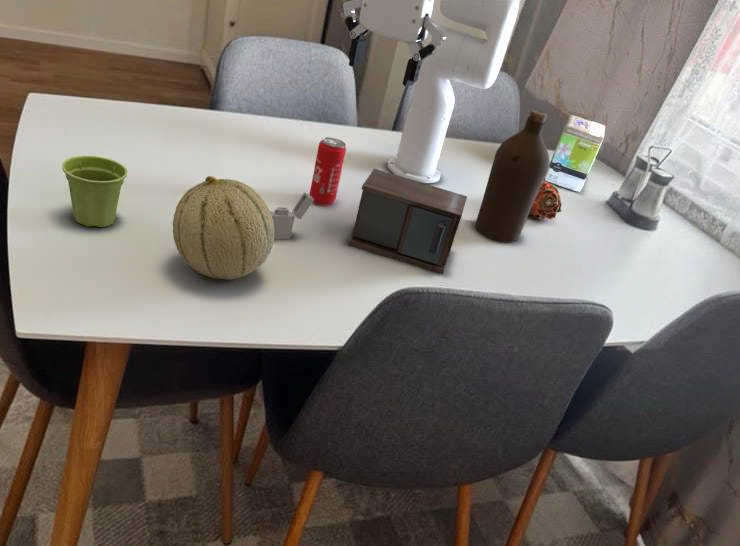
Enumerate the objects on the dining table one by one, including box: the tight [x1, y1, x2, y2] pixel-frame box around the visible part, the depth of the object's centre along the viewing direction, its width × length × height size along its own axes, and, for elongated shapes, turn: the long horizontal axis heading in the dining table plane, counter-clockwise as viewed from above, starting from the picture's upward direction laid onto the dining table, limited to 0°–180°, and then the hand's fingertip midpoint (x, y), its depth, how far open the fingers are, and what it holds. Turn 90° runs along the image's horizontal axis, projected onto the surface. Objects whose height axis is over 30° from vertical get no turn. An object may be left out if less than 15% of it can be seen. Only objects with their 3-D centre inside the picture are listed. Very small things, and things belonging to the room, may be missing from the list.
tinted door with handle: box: [397, 205, 456, 266], centre depth 121 cm, size 4×8×9 cm, turn 77°
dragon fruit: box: [528, 179, 563, 221], centre depth 158 cm, size 8×8×12 cm
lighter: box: [269, 192, 314, 240], centre depth 121 cm, size 7×2×8 cm, turn 115°
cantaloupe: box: [172, 175, 275, 280], centre depth 104 cm, size 15×15×15 cm
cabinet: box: [348, 168, 468, 275], centre depth 127 cm, size 10×18×11 cm, turn 77°
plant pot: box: [61, 155, 129, 228], centre depth 111 cm, size 9×9×9 cm
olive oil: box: [474, 109, 550, 243], centre depth 140 cm, size 11×11×25 cm
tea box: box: [544, 114, 606, 193], centre depth 183 cm, size 15×10×15 cm
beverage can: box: [309, 136, 347, 207], centre depth 136 cm, size 5×5×12 cm
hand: (381, 75), depth 112 cm, fingers open, 9 cm apart
